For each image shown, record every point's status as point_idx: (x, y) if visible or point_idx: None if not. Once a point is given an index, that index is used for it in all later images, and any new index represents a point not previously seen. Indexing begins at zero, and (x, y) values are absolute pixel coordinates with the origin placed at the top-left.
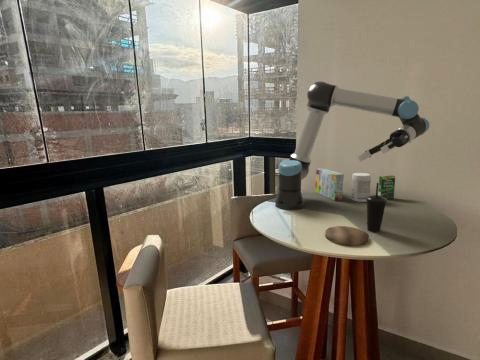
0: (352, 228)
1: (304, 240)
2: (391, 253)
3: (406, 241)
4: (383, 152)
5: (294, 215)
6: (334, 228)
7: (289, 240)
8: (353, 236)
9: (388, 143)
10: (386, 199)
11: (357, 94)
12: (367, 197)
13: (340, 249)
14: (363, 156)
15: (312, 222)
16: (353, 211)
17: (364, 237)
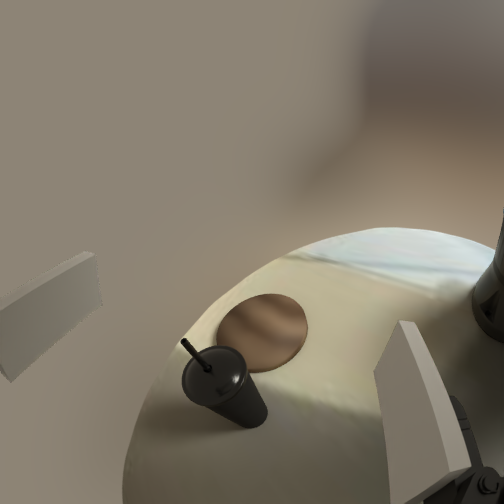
0: (273, 357)
1: (294, 267)
2: (174, 351)
3: (173, 415)
4: (94, 292)
5: (430, 295)
6: (296, 322)
7: (306, 250)
8: (242, 330)
9: (11, 298)
10: (183, 388)
11: None
12: (236, 356)
13: (235, 297)
14: (398, 385)
15: (372, 314)
16: None
17: (225, 344)
